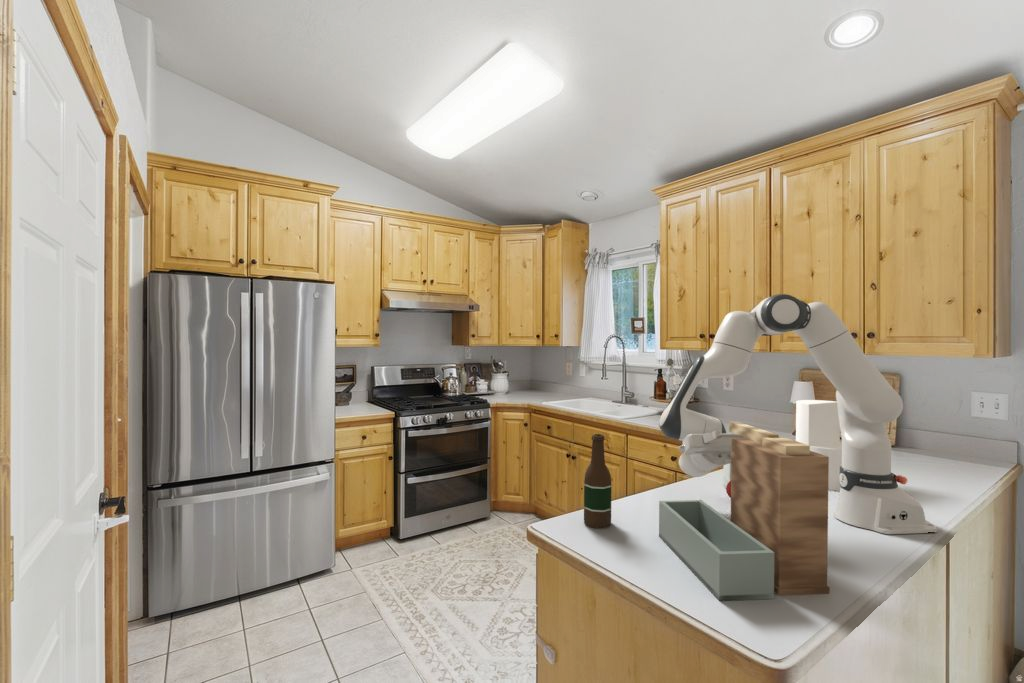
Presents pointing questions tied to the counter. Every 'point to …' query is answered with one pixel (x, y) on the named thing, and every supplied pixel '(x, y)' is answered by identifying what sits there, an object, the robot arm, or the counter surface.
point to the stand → (784, 511)
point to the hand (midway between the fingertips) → (736, 433)
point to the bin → (717, 551)
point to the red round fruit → (728, 489)
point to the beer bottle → (597, 487)
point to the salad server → (769, 439)
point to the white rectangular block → (821, 433)
